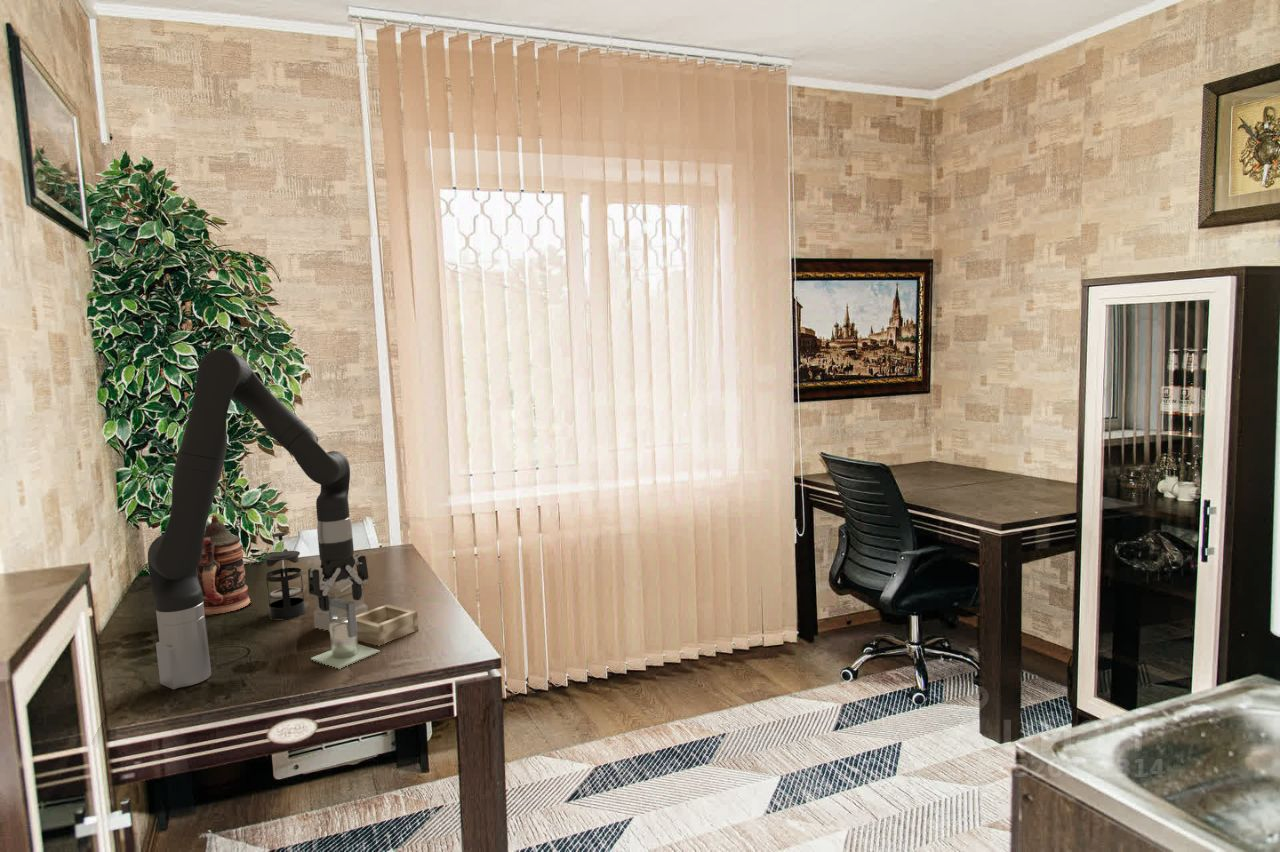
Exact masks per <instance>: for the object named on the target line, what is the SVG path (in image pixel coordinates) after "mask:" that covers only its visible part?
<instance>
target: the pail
mask: <svg viewBox="0 0 1280 852" xmlns="http://www.w3.org/2000/svg"><path fill="white" fill-rule="evenodd" d="M328 601H329V621H330V622H329V628H330V631H329V637H330V639H329V640H330V650H332V657H333V658H335V659H344V658H349V657H352V656H355V655H357V654H358V653H359V647H358V644H359V640H358V635H357V623H356V614H355V602H352V601H348V600H343V599H339V598H335V597H332V598H329V599H328ZM337 608H340V609H343V610H346V611H347V617H341V618H338V615H337Z"/></svg>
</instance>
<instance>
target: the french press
mask: <svg viewBox="0 0 1280 852" xmlns="http://www.w3.org/2000/svg"><path fill="white" fill-rule="evenodd" d="M288 535H289V532H286V531H284V532H283V531H282V532H281V531H280V532H275V533H274V534H272V535H271V537H274V538H278V541H279V543H280V545H279V546H280V551H278V552H277V551H276V552H273V553H269V554H267V555H265V556H264V557H263V558H264V560H265V562H266V566H268V567H273V566H274V565H275V564H277V563H278V562H280V561H281V562H282V564H281V565H282V566H281V568H278V569H275V570H271V571H269V572H267V573H266V575H265V579H266V587H267V588H266V589H267V599H268V608H269V609H268V610H269V614H268V617H270V618H272V619H286V620H290V619H289V618H292V619H295V618H294V617H296V618H298V616H299V617H301V616H302V615H304V614H306V612H307V609H306V605H305V604H306V603H305V596H304V595H305V594H304V583H303V573H302V572H303V571H302V569H301V568H299V567H285V564H284V563H285V562H284V561H289V562H291V563H294V564H295V563H298V562H299V556H300V554H301V552H300V551H298V550H283V544H282V543H283V542H282V541H283V539H284V538H283V537H284V536H288ZM288 573H289V574H288ZM290 573H294V574H290ZM276 575H280V576H276ZM297 578H300V580H301V587H297V586H292V587H291V586H289V585H290V584H289V581H293V580H295V579H297ZM269 582H271V583H279V582H280V584H281V585H280V586H281V588H279V589H275V590H273V591H271V592H269V591H270V590H269ZM301 593H302V597H297V596H298V595H300V594H301ZM270 598H271V599H275V600H274V601H272V602H270V601H271V600H270ZM276 599H277V600H276ZM300 615H301V616H300ZM270 618H269V619H270ZM272 619H271V620H272Z"/></svg>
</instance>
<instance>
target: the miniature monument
mask: <svg viewBox="0 0 1280 852" xmlns="http://www.w3.org/2000/svg"><path fill="white" fill-rule="evenodd" d="M353 570H354V571H355V572H356V573H357V570H355V566H354V567H353ZM322 576H323V574H322V573H321V577H319V581H320V580H321V578H322ZM328 581H329V580H328V579H327V581H326V582H328ZM352 584H353V583H352V582H351V581H350V580H349V579H348V578H347V579H342V580H340V581H338V582H334V584H333V586H332V587H330V589H329V591H328V593H327V595H328V599H329V598H332V597H335V598H339V599H343V600H348V601H352V602H355V614H356V615H359V614H362V613H364V612H367V611H369V607H368V606H369V605H367V604H365V599H364V598H365V597H364V596H365V595H364V589H366V588H368V587H369V586H370V585H369V578H368V579H367V580H364V581H363V582H362V584H361V587H362V597H361V599H360V600H354V599H353V595H352ZM308 587H309V583H308ZM314 597H315V606H316V607H315V608H316V609H315V610H314V611H313V622H314V629H316V628H319V629H318V630H321V629H324V630H323V631H325V630H328V631H327V632H330V628H329V622H330V621H329V611H322V610H321V609H320V608H319V602H318V596H316V595H314ZM337 615H338V618H341V617H347V611H346V610H343V609H340V608H337Z"/></svg>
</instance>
